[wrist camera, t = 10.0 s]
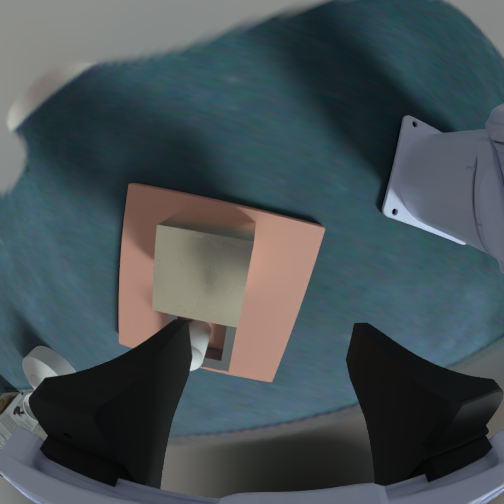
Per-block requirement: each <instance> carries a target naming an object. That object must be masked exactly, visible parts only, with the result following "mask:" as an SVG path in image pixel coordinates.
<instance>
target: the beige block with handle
mask: <svg viewBox="0 0 504 504" xmlns="http://www.w3.org/2000/svg"><path fill="white" fill-rule="evenodd" d="M255 228H256V222H252V221H247V220H241V219H235V218H230V217H224V216H218V215H212V214H206V213H200V212H194V211H188V210H181V211H180V212H178V213H176V214H174V215H173V216H171V217H169V218H167V219H166V220H164V221H162V222H160V223H159V224H157V229H156V242H155V256H154V273H153V301H152V310H155V311H159V312H163V313H168V324H169V323H170V322H171V321H173V320H174V319H181V320H182V317H186V318H190V319H195V320H200V321H205V322H210V323H215V324H220V325H226V326H227V329H226V335H225V341H224V347H223V349H218V348H213V347H207V349H206V352H205V356H204V359H203V363H202V364H201V367H206V368H211V369H216V370H222V371H227V372H229V367H230V362H231V356H232V351H233V346H234V340H235V335H236V329H237V328H238V325H239V320H240V314H241V309H242V304H243V298H244V293H245V288H246V282H247V277H248V272H249V266H250V261H251V256H252V250H253V245H254V238H255Z"/></svg>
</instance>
